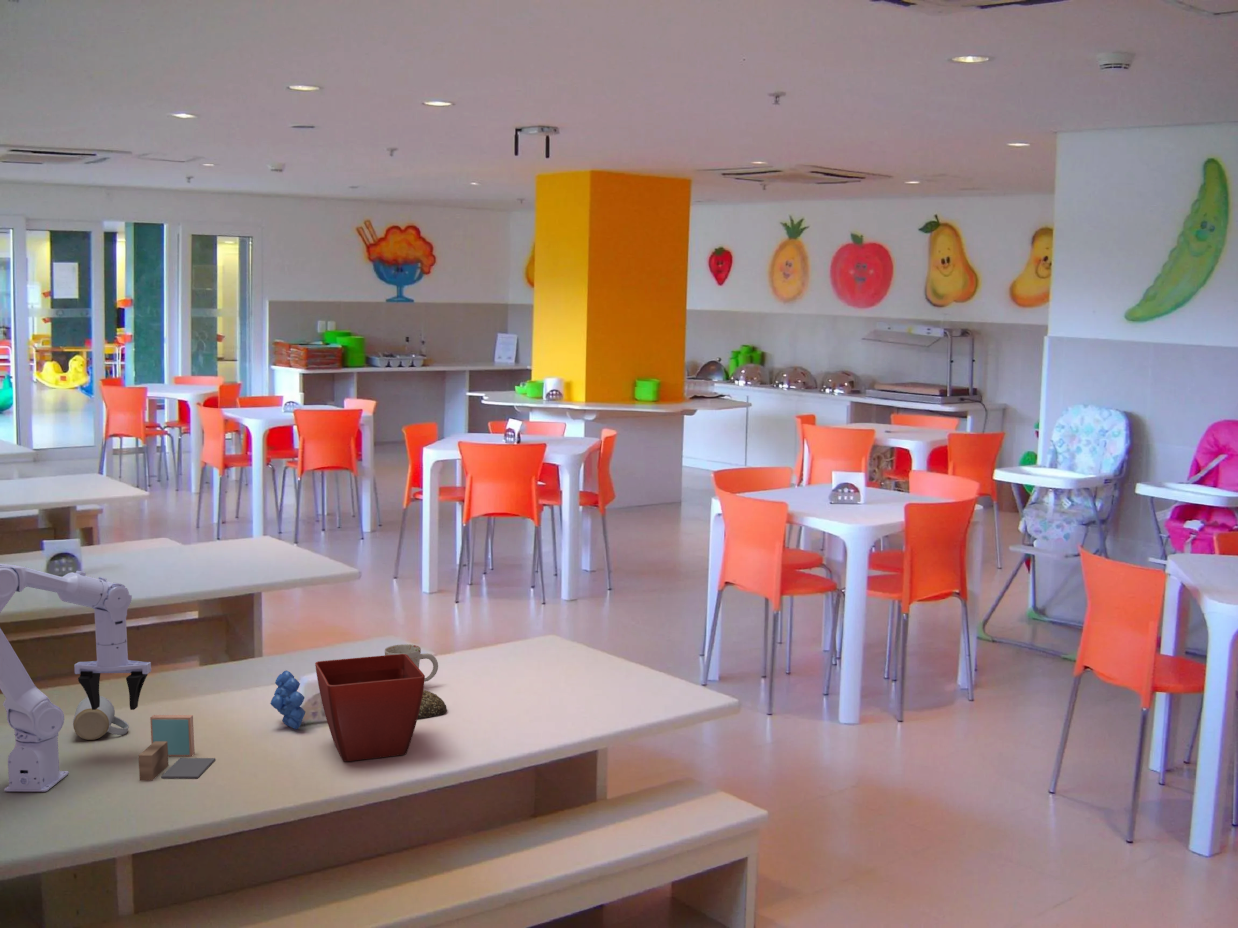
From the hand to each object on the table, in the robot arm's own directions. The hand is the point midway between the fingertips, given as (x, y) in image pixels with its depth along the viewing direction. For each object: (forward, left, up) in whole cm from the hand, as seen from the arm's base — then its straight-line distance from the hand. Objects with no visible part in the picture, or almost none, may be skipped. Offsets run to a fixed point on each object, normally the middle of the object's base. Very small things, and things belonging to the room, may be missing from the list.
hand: (114, 708), depth 251 cm
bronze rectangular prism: (-9, -11, -10) cm, 17 cm away
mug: (+46, -51, -10) cm, 69 cm away
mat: (-7, -17, -10) cm, 21 cm away
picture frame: (+1, -11, -10) cm, 15 cm away
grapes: (+18, -29, -10) cm, 36 cm away
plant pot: (+5, -50, -10) cm, 51 cm away
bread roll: (+30, -55, -10) cm, 63 cm away
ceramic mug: (+13, +9, -10) cm, 19 cm away
